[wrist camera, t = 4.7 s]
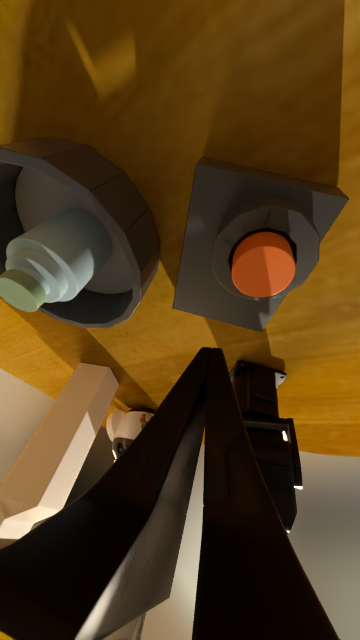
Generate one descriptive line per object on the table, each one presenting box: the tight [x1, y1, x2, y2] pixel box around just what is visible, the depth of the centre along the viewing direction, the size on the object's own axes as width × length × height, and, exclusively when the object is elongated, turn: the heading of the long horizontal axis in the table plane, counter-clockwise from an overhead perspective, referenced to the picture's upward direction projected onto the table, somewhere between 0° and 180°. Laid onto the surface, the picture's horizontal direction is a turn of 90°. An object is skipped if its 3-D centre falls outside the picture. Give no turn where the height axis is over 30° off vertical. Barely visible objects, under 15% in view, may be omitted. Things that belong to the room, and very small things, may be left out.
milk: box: [0, 363, 119, 539], centre depth 33 cm, size 6×6×22 cm
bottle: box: [0, 208, 112, 312], centre depth 17 cm, size 5×5×9 cm
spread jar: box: [106, 407, 155, 462], centre depth 46 cm, size 12×11×12 cm
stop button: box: [232, 231, 296, 297], centre depth 14 cm, size 4×4×2 cm
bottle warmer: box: [0, 137, 160, 328], centre depth 19 cm, size 14×14×5 cm
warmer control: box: [173, 157, 349, 332], centre depth 17 cm, size 12×9×4 cm
